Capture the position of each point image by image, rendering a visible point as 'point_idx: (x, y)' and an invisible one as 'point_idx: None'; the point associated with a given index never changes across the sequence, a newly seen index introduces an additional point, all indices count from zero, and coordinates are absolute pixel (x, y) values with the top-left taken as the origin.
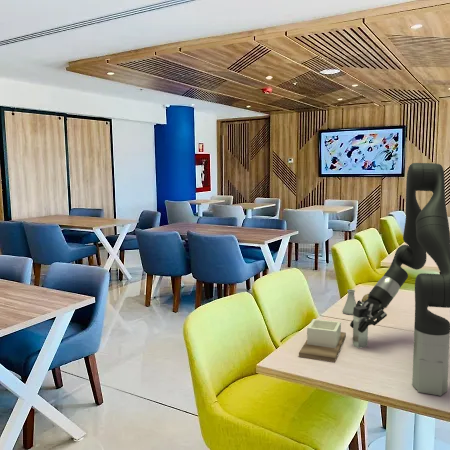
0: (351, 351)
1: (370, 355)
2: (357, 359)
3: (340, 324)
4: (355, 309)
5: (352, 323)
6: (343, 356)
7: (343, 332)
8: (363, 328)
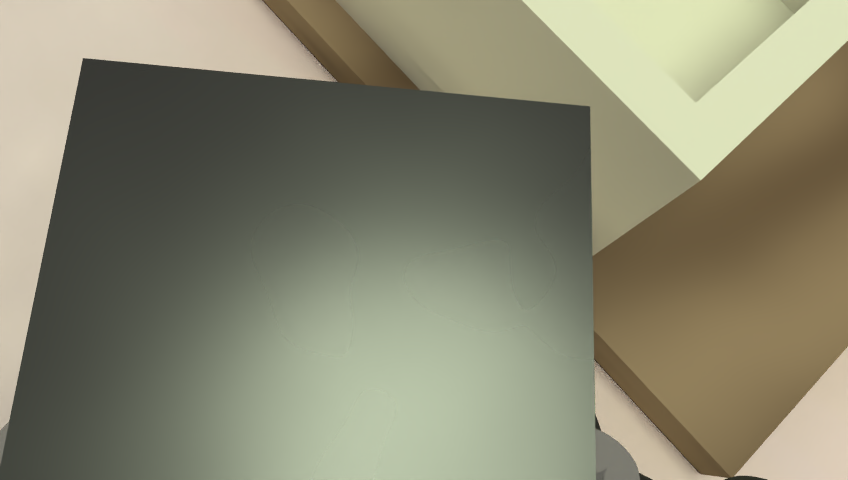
0: None
1: (18, 318)
2: (33, 94)
3: (652, 162)
4: (406, 122)
5: None
6: (194, 19)
7: (751, 450)
8: None
